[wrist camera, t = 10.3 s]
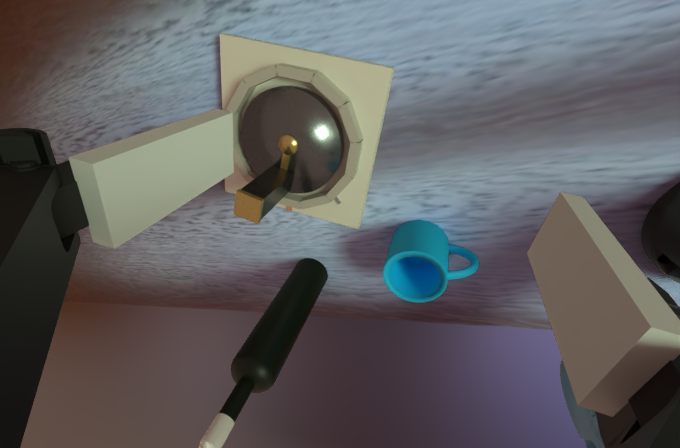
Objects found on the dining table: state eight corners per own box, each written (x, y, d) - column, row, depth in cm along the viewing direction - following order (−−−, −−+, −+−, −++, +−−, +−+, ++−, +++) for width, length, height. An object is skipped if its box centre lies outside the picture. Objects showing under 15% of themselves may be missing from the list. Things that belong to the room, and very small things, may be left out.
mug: (393, 264, 53) (384, 299, 46) (390, 218, 49) (380, 249, 42) (475, 270, 49) (478, 308, 43) (479, 221, 46) (484, 254, 39)
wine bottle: (329, 286, 59) (238, 475, 34) (299, 283, 61) (191, 461, 36) (325, 259, 56) (222, 442, 31) (293, 257, 58) (172, 428, 33)
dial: (254, 69, 42) (197, 80, 33) (357, 107, 41) (329, 130, 32) (241, 168, 50) (193, 199, 41) (328, 203, 49) (299, 244, 39)
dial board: (394, 67, 39) (390, 70, 36) (360, 224, 51) (355, 236, 48) (226, 33, 43) (209, 33, 40) (230, 187, 55) (217, 196, 52)
